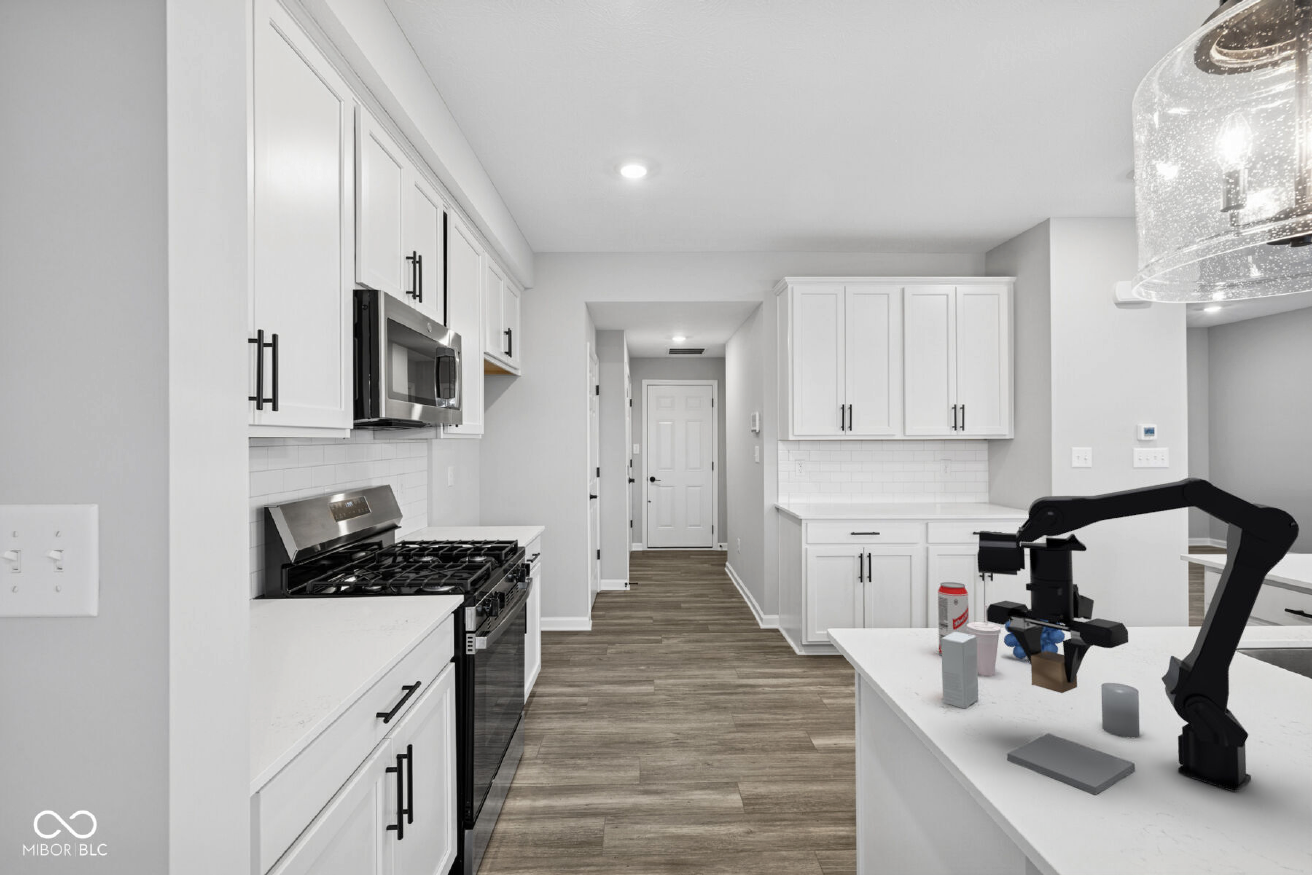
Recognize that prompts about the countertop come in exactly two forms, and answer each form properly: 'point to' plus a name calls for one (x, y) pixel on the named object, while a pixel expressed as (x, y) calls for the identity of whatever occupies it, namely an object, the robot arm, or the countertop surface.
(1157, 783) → the countertop surface
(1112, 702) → the grey cylinder
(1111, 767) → the slate pad
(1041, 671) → the walnut block
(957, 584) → the beer can
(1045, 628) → the grapes
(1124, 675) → the countertop surface
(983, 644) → the smoothie
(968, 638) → the skincare box
